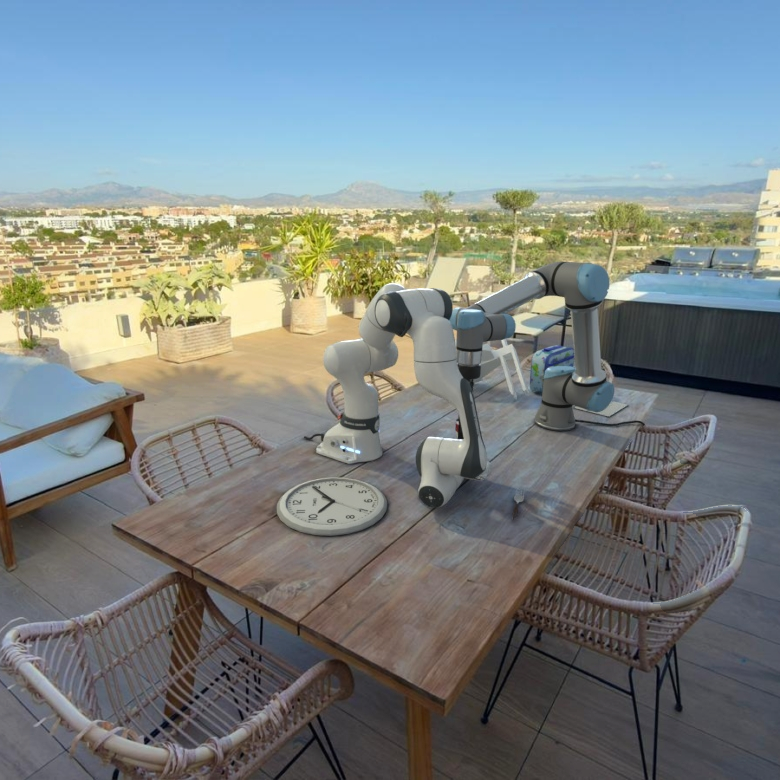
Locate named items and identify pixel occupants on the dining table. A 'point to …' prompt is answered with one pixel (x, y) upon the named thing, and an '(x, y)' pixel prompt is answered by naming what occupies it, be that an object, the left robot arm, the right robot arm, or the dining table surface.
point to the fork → (517, 499)
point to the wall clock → (331, 506)
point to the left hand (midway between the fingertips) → (462, 454)
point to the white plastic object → (494, 360)
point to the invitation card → (608, 408)
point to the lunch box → (548, 363)
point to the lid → (457, 426)
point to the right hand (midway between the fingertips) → (463, 437)
